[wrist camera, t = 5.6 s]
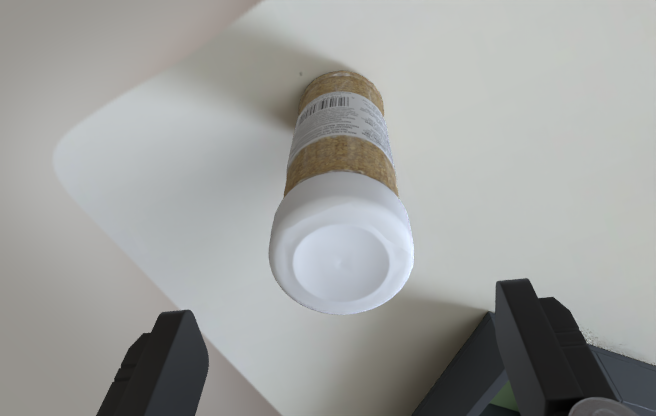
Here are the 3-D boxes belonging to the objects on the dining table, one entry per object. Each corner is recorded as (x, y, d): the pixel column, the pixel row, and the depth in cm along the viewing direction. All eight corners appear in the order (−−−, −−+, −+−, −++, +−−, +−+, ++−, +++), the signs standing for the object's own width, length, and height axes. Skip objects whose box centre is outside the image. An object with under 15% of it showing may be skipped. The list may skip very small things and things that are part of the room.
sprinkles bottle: (305, 153, 28) (280, 326, 17) (292, 73, 26) (252, 209, 15) (388, 144, 28) (419, 315, 17) (382, 61, 26) (412, 192, 14)
